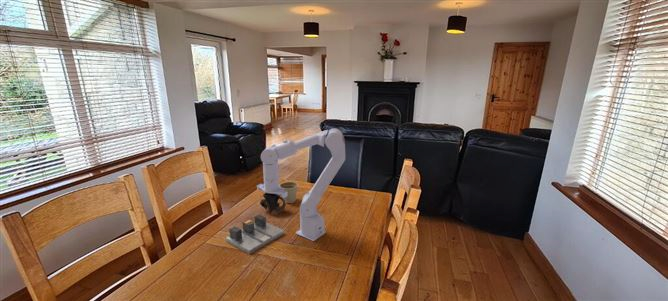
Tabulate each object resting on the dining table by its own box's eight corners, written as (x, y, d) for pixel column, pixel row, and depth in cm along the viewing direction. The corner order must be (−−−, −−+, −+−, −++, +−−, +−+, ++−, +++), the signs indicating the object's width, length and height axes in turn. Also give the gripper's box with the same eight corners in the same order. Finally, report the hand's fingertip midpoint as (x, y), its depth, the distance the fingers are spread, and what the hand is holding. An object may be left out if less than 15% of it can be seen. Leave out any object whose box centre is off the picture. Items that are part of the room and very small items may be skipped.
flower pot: (276, 203, 142) (275, 187, 139) (284, 196, 150) (284, 180, 148) (293, 206, 139) (293, 189, 137) (301, 198, 148) (301, 182, 146)
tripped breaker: (254, 230, 114) (253, 221, 113) (249, 233, 112) (248, 224, 111) (248, 227, 116) (247, 218, 115) (243, 229, 114) (242, 221, 113)
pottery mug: (285, 206, 140) (288, 195, 135) (282, 222, 133) (285, 212, 128) (260, 201, 138) (262, 190, 133) (256, 217, 131) (258, 206, 126)
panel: (283, 233, 115) (283, 222, 114) (249, 254, 102) (248, 241, 100) (260, 223, 123) (260, 212, 122) (226, 241, 110) (224, 229, 108)
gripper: (292, 178, 110) (293, 210, 113) (265, 171, 117) (267, 201, 121) (280, 183, 104) (281, 217, 107) (252, 176, 111) (254, 208, 115)
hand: (273, 209), depth 114 cm, fingers closed
